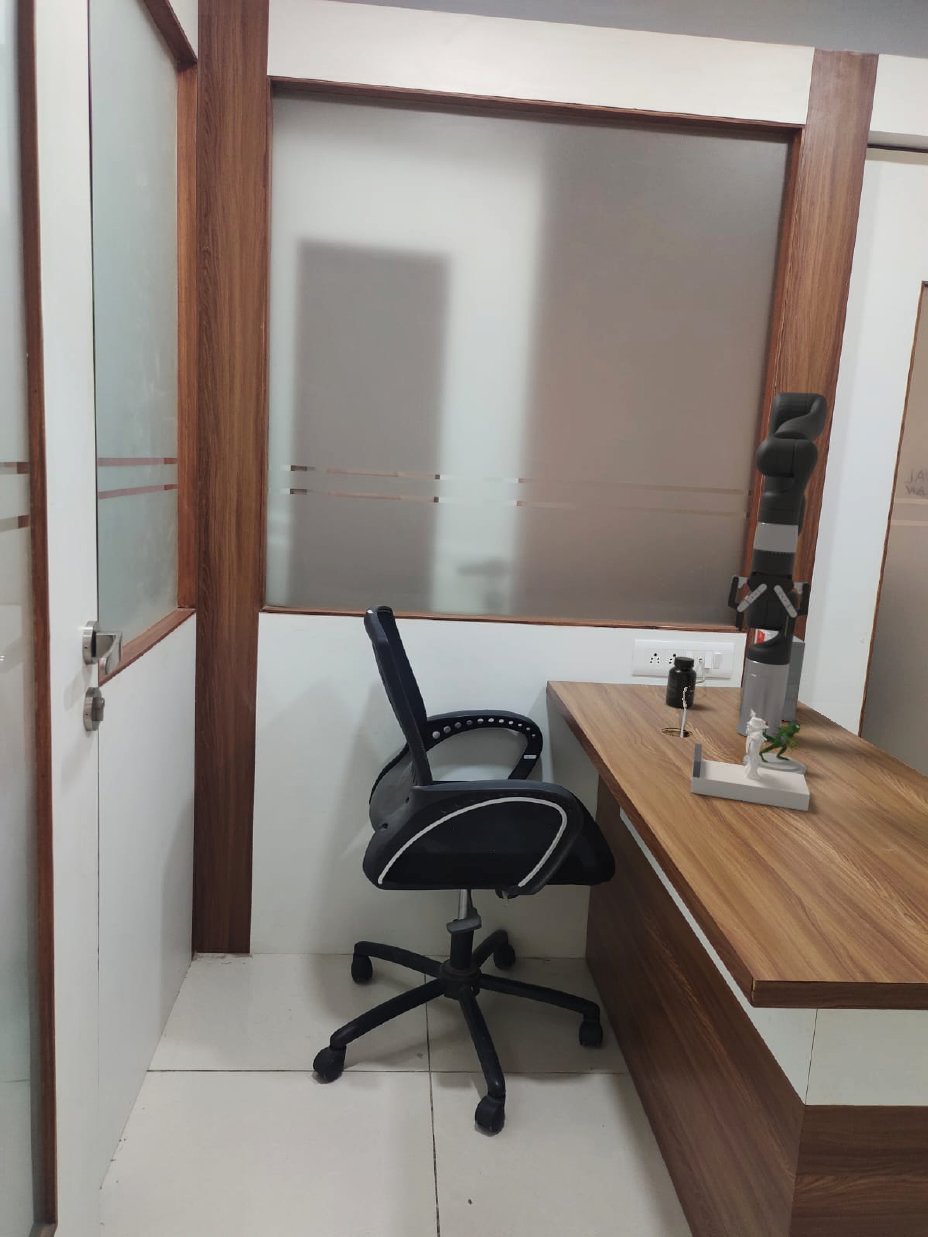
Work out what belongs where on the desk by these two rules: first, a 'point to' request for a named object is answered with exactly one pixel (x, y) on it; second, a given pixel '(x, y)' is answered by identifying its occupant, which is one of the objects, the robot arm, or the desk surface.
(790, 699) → the hard drive box
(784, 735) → the monster figurine
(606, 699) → the desk surface
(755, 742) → the white toy figure
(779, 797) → the shelf board
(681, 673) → the supplement bottle
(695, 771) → the rail
